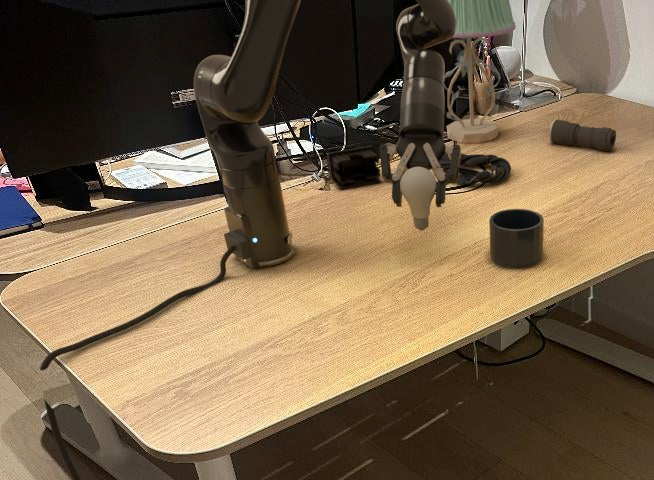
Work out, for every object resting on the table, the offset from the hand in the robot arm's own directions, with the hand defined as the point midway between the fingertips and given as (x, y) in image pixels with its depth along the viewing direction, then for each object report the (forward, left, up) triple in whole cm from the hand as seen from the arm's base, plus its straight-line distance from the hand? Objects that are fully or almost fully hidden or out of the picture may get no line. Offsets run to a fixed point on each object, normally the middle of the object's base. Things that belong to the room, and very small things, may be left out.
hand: (418, 205), depth 125 cm
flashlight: (+65, +18, -11) cm, 69 cm away
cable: (+35, +24, -11) cm, 44 cm away
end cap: (+15, +40, -11) cm, 44 cm away
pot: (+12, -11, -10) cm, 19 cm away
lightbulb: (+1, +1, -5) cm, 6 cm away
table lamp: (+54, +44, -11) cm, 71 cm away
